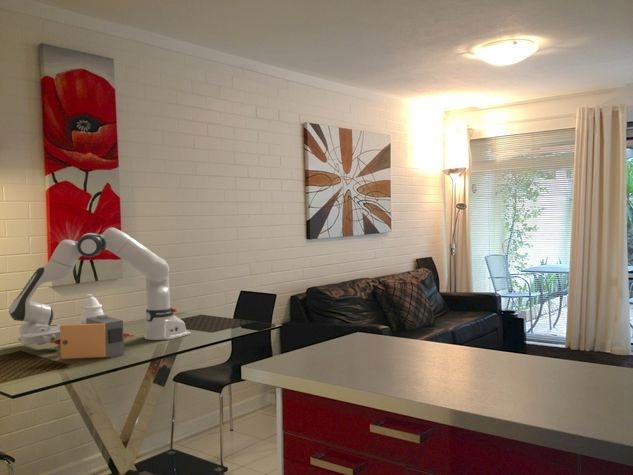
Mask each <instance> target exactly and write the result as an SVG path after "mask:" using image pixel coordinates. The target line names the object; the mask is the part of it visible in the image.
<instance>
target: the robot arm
mask: <svg viewBox="0 0 633 475" xmlns="http://www.w3.org/2000/svg"><path fill="white" fill-rule="evenodd" d="M105 250H106V251H107V250H108V251H109V252H111V253H112V254H114V255H115V256H117V257H118V258H120V259H121V260H122V261H124V262H125V263H127V264H129V266H131V267H132V268H134V269H135V270H136V271H138V272H139V273H141V274H142V275H143V276H145V292H146V295H145V296H146V309H145V318H146V327H145V333H144V339H145V340H149V341H150V340H152V341H160V340H162V341H163V340H165V341H167V340H168V341H169V340H173V339H178V338H181V337H184V336H189V335H191V331H190V330H188V329H187V328H186V323H185V322H184V321H183V320H182V319H181V318H179V317H178V316H176V315H175V314H174V313H177V312H178V309H177V308H175V307H173V308H172V307H171V292H170V279H169V278H170V277H169V274H170V265H169V264H168V262H167V260H166V259H164V258H163V257H159V255H157V254H156V253H154V252H153V251H152V250H150V249H148V247H146V246H145V245H143V244H142V243H141V242H139V241H138V240H137V239H135V238H133V237H132V236H130V235H129V234H127V233H126V232H124V231H122V230H120V229H118V228H116V227H108V228H106V229H105V230H104V231H103V232H102V233H101V234H99V233H95V232H89V233H85V234H83V235H82V236H81V237H80V238H79V239H77V240H72V239H63V240H61V241H60V242H59V243H58V245H57V246H56V248H55V249H54V251H53V252H52V255H51V257H50V259H49V260H48V262H47V263H46V264H45V265H44V266H42V267H39V268H38V269H36V271H34V273H33V274H32V276H30V278H29V280H28V281H27V283H26V284H25V285H24V287H23V289H22V290H21V292H19V294H18V296H17V297H16V298H15V299H14V301H13V302H12V303H11V305H10V307H9V310H8V313H9V315H10V317H11V318H12V320H13V321H18V322H23V323H22V324H21V325H20V326H19V335H20V337H17V341H20V343H21V344H22V345H24V346H30V345H34V344H35V345H38V346H42V345H45V344H47V343H50V342H52V341H57V340H60V325H61V324H52V322H53V319H54V312H53V309H52V306H51V305H49V304H45V303H41V302H37V301H34V300H31V298H32V297H33V295H34V294H35V293H36V291H37V289H38V288H39V287H40V286H41V285H43V284H45V283H53V282H61V281H63V280H66V279H67V278H69V277H70V276H71V274H72V273H73V271H74V269H75V266H76V264H77V261H78V260H79V259H80V257H82V256H83V257H86V258H93V257H95V256H98V255H99V254H101V252H103V251H105ZM51 324H52V325H51Z"/></svg>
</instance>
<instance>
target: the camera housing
mask: <svg viewBox="0 0 633 475" xmlns="http://www.w3.org/2000/svg"><path fill="white" fill-rule="evenodd" d="M101 323H105V332H106V358H105V359H109V358H108V357H110V358H114V356H115V357H120V356H123V355H125V345H124V344H125V343H124V341H125V340H124V320H123V319H119V318H114V317H110V316H108V315H107V314H104V315H97V317H91V318H86V324H101Z"/></svg>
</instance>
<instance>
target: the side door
mask: <svg viewBox="0 0 633 475" xmlns="http://www.w3.org/2000/svg"><path fill="white" fill-rule="evenodd" d="M59 325H60V339H59V340H60V341H59V342H60V359H63V360H65V359H66V360H67V359H85V358H105V357H106V332H105V323H101V324H80V323H78V324H59Z"/></svg>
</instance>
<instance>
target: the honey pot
mask: <svg viewBox="0 0 633 475" xmlns="http://www.w3.org/2000/svg"><path fill="white" fill-rule="evenodd" d="M86 296H87V299H86V302H85V303H84V305H82V306H81V308H82V312H81V315H80V317H79V324H86V318H91V317H97V315H105V313H104V310H103V308H102V307H103V305H102V304H101V303H100V302H99V301H98V299H97V298H96V297H95V296H93V294H92V293H89V294H86Z"/></svg>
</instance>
